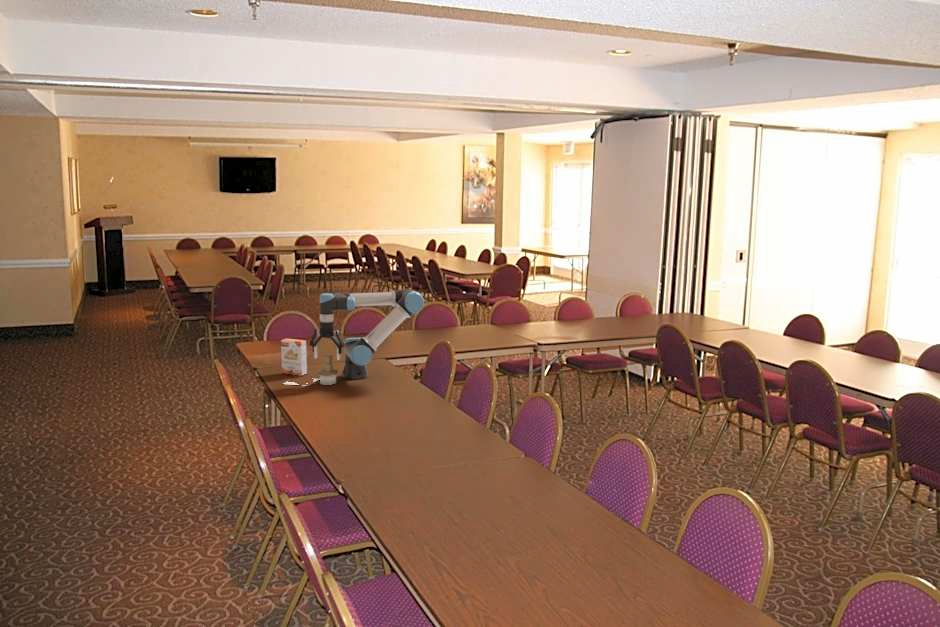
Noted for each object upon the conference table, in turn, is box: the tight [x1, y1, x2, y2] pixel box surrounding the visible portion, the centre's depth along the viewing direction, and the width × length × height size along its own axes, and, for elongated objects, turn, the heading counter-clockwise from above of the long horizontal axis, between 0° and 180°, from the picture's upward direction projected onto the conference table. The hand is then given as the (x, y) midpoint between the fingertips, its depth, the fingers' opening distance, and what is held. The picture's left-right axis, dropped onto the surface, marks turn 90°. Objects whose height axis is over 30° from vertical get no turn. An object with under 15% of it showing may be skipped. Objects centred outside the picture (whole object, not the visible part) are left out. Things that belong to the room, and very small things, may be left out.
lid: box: [317, 354, 339, 376], centre depth 435 cm, size 11×11×10 cm
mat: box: [282, 378, 320, 387], centre depth 440 cm, size 16×16×1 cm
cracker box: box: [280, 338, 308, 376], centre depth 456 cm, size 14×6×21 cm, turn 68°
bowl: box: [319, 373, 338, 386], centre depth 436 cm, size 10×10×6 cm
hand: (327, 358), depth 434 cm, fingers open, 13 cm apart
